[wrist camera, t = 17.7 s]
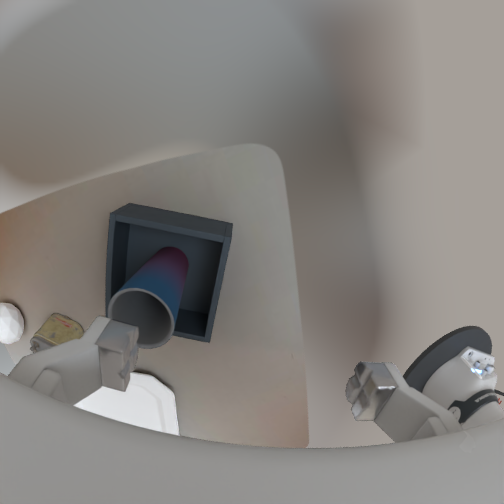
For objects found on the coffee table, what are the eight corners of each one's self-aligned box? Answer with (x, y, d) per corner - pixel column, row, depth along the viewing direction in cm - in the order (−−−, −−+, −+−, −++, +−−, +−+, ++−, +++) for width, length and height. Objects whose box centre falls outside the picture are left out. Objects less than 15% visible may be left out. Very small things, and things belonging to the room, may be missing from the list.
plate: (84, 428, 54) (81, 434, 52) (54, 350, 47) (49, 356, 44) (183, 447, 56) (182, 455, 54) (174, 371, 48) (172, 379, 46)
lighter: (51, 325, 45) (24, 356, 35) (51, 308, 44) (22, 338, 34) (83, 340, 46) (60, 374, 36) (84, 323, 45) (59, 358, 35)
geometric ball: (22, 315, 47) (-2, 339, 42) (3, 287, 42) (-23, 313, 37) (37, 332, 44) (11, 359, 39) (15, 303, 39) (-13, 332, 34)
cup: (189, 236, 40) (164, 283, 26) (199, 282, 42) (182, 346, 28) (142, 243, 40) (98, 291, 26) (154, 288, 42) (120, 350, 28)
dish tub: (232, 223, 40) (231, 237, 34) (213, 316, 45) (209, 343, 38) (129, 202, 39) (109, 213, 32) (121, 296, 43) (105, 318, 37)
